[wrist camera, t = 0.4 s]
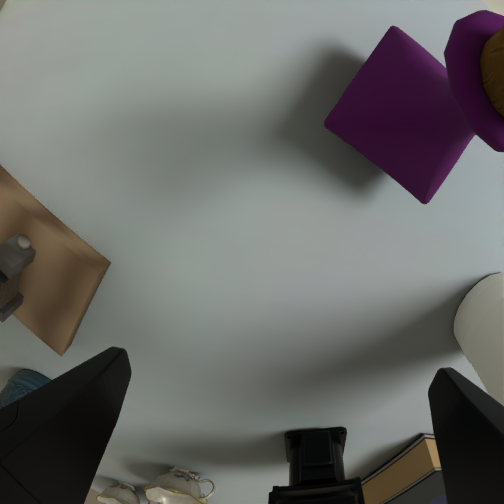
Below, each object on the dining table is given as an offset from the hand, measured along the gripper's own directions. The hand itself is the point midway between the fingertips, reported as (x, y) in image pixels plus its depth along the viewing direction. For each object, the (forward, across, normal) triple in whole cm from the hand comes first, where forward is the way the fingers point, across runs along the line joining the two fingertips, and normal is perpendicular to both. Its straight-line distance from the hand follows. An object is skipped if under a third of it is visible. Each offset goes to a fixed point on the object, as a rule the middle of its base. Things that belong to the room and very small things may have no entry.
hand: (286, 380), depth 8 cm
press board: (+14, +23, +4) cm, 27 cm away
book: (+15, -28, +36) cm, 48 cm away
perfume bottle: (+14, -6, -8) cm, 17 cm away
